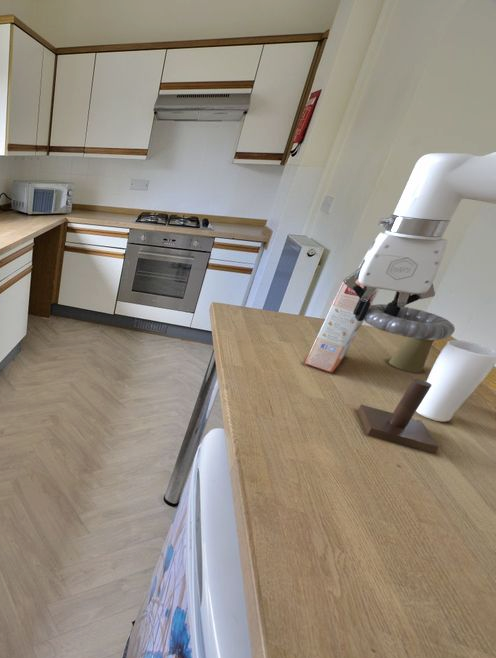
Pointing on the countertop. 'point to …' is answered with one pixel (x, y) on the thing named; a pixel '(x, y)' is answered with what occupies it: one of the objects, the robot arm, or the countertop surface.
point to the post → (401, 420)
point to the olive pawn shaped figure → (412, 355)
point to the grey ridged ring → (410, 323)
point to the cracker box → (337, 330)
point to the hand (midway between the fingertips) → (371, 320)
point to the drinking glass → (455, 378)
